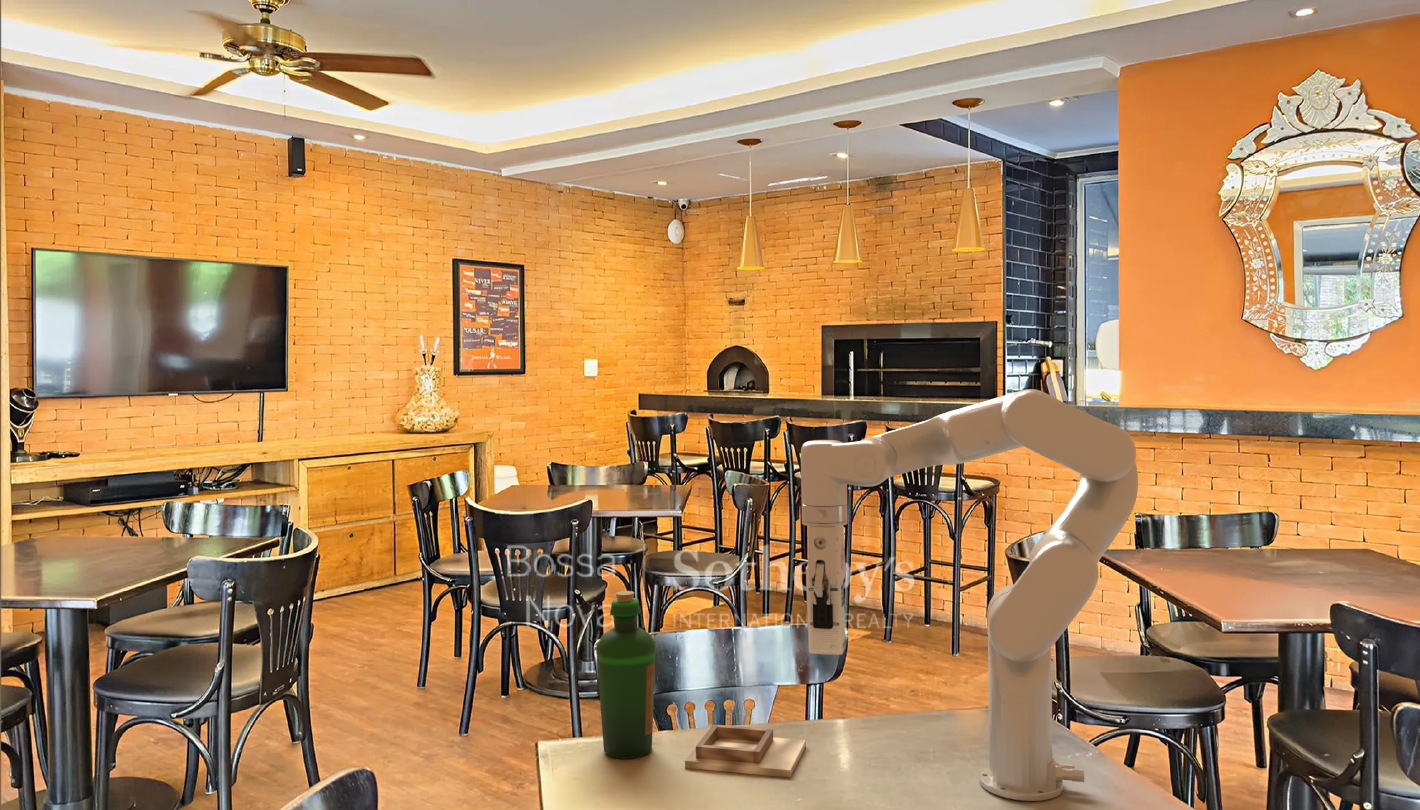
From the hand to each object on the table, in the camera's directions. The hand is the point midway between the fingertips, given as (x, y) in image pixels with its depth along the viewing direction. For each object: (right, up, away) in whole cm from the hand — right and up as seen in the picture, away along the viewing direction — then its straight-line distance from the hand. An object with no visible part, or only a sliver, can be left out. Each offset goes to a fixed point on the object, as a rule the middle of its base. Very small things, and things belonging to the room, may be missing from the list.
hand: (826, 622), depth 165 cm
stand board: (-13, -25, +6) cm, 29 cm away
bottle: (-34, -25, +10) cm, 43 cm away
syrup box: (0, -5, 0) cm, 5 cm away
